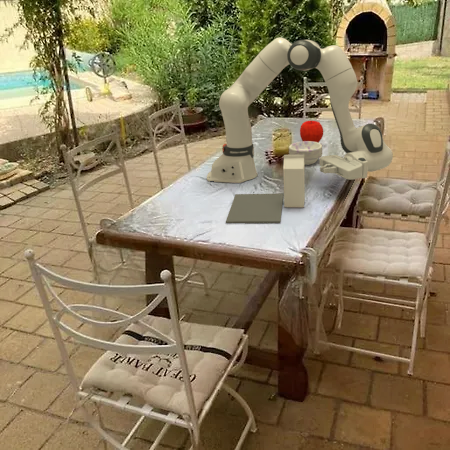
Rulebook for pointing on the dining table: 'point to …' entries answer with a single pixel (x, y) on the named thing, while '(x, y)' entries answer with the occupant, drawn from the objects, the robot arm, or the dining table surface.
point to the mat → (256, 208)
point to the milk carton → (294, 180)
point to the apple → (311, 131)
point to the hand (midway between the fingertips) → (321, 170)
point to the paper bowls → (307, 151)
